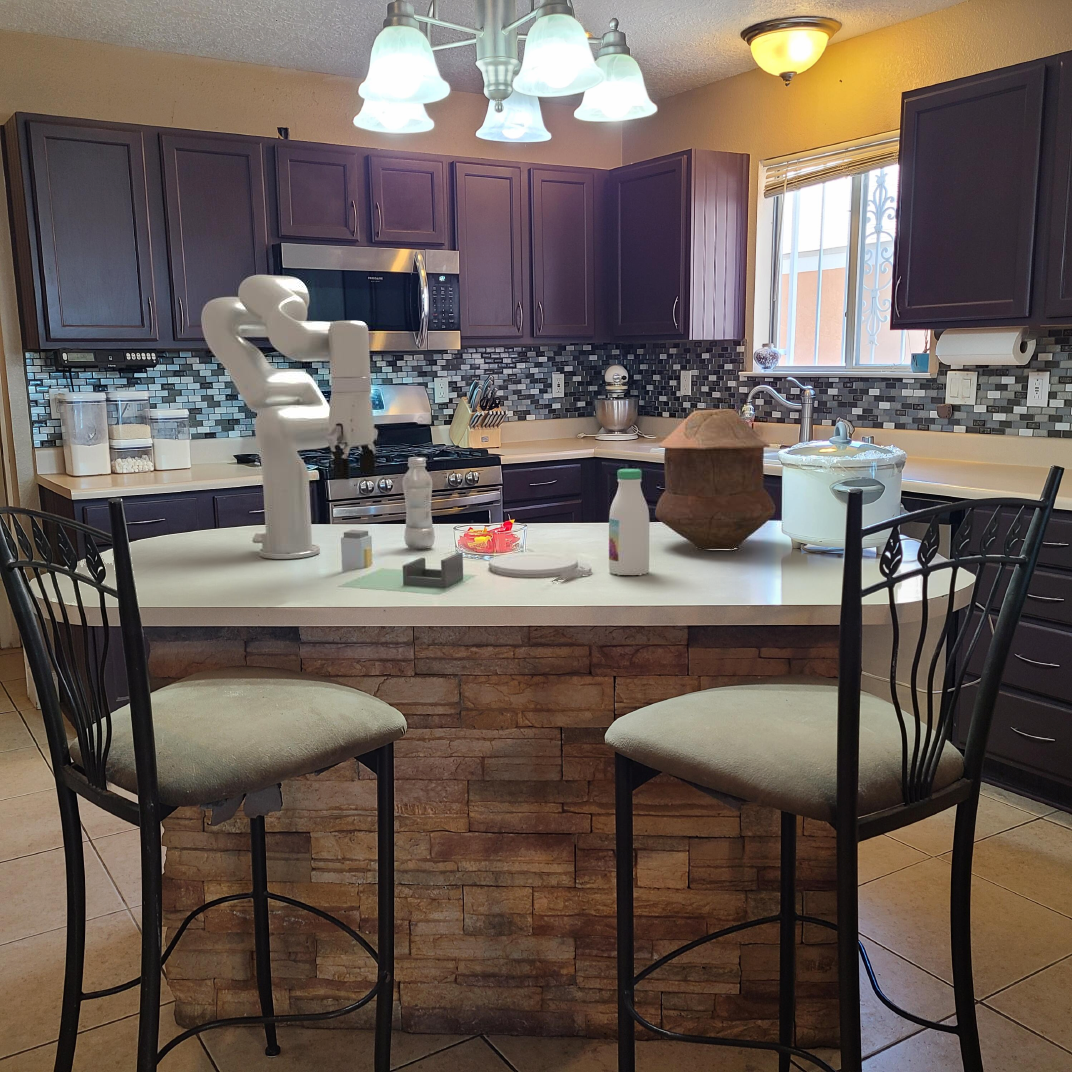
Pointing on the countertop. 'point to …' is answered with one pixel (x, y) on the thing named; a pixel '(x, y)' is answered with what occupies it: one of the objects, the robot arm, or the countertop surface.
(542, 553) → the lid
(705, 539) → the pottery vessel
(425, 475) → the plastic bottle
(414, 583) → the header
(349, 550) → the plug
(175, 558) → the countertop surface
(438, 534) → the countertop surface
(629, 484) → the milk bottle
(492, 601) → the countertop surface
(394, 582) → the board
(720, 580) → the countertop surface
